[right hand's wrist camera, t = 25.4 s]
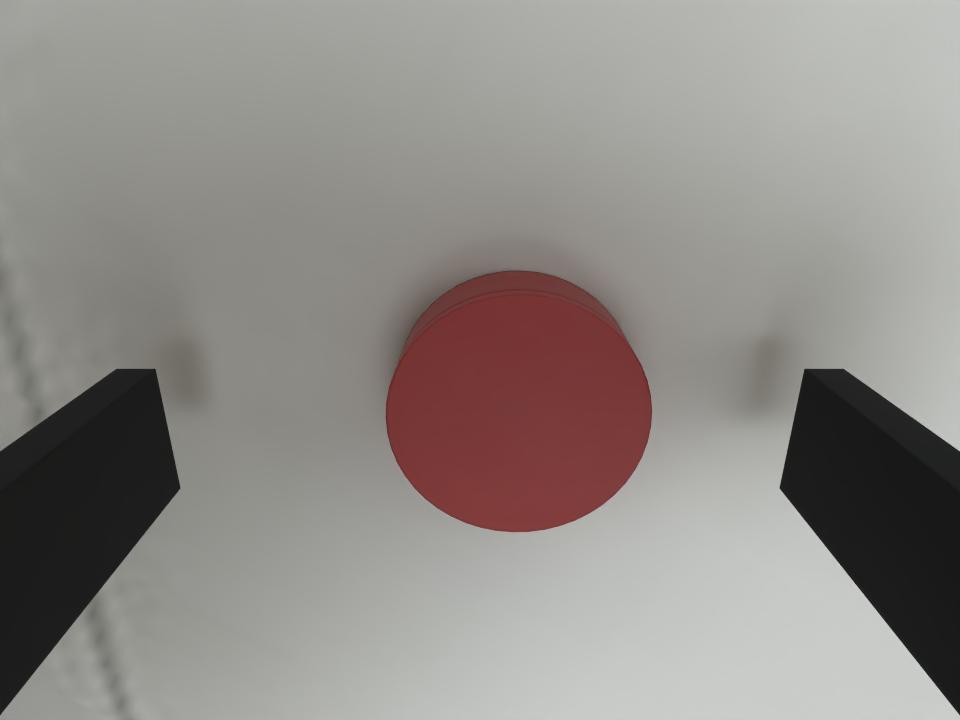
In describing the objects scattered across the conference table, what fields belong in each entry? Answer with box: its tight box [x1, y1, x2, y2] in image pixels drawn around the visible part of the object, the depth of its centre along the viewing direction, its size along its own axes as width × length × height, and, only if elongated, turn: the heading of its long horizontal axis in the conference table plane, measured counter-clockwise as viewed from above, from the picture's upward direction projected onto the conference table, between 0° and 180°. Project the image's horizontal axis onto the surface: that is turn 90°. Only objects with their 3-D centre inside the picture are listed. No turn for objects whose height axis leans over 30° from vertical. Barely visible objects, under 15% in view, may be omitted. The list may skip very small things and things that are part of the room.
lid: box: [386, 271, 652, 532], centre depth 14 cm, size 6×6×2 cm
